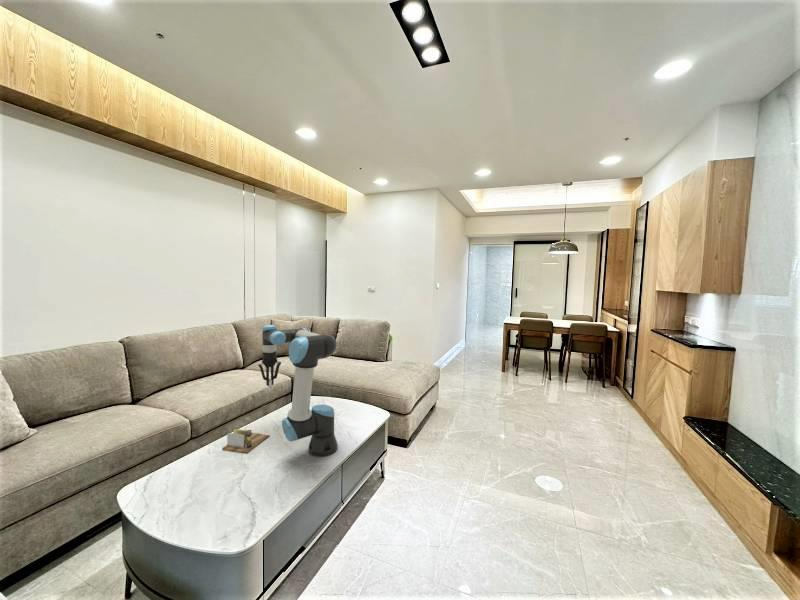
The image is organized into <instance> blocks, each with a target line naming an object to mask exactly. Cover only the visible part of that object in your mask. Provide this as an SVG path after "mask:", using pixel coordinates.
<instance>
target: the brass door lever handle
mask: <svg viewBox="0 0 800 600" xmlns="http://www.w3.org/2000/svg"><path fill="white" fill-rule="evenodd" d="M247 430H248V429H247ZM247 430H246V429H239V428H238V429H237V428H234V429H233V430H232V431H233V434H241V435H245V443H246V444H247V442H248V443H249V442H251V441H252V435H251V436H247Z"/></svg>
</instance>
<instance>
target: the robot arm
mask: <svg viewBox="0 0 800 600" xmlns="http://www.w3.org/2000/svg"><path fill="white" fill-rule="evenodd" d="M261 330H262V331H261V333H262V336H261V337H262V360H261V362H260V363H257V366H258V367H259V369H260V374H261V377H262V379H263V380H264V381H265V383H266V386H267V390H268V392H273V389H272V388H273V385H274V381H275V379H277V377H278V373H279V370H280V366H281V364H282V362H281V361H279V360H278V358H277V346H281V345H283V344H289V346H288V358H289V361H290V362H291V363H292V366H293V367H294V369H295V370H294V380H293V387H292V390H293V391H292V398H291V399H292V401H291V409H289V410H288V412H287V417H284V418H283V419H282V421H281V426H282V432H283V434H284V437H285V438H286V440H287V441H288V442H295V441H299V440H301V439H305V438H306V437H310V436H311V438H310V441H309V444H308V453H309V454H310V455H312V456H314V457H326V456H330V455H333V454H334V453H335V452H337V450H338V448H339V447H338V441H337V438H336V436H335V410H334V408H333V407H332V406H331V405H328V404H316V405H313V406H312V407H311V406H310V405H311V397H312V388H313V381H314V380H313V379H314V371H315V370H314V369H315V368H316V367H318V363H319V360H323V359H327V358H329V357H331V356H332V355H333V354H334V353H335V352H336V351H337V348H338V347H337V346H338V345H337V344H338V343H337V340H336V338H335V337H334V336H333V335H331V334H327V333H321V334H320V333H315V332H312V331H309V330H308V329H307V328H303V327H301V328H300V327H299V328H293V329H281V330H277V325H275V324H266V325H265V324H264V325H263V326H262V329H261ZM275 365H276V367H275ZM263 366H264V367H265V371H264V367H263ZM274 367H275V370H274ZM310 407H311V409H310Z"/></svg>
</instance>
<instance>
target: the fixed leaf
mask: <svg viewBox="0 0 800 600" xmlns="http://www.w3.org/2000/svg"><path fill="white" fill-rule="evenodd" d="M252 433H253V432H252V429H247V436H251V435H252ZM226 437H227V438H226V439H227V444H226V445H228V447H233V448H240V449H245V435H241V434H233V433H232V432H228V433H227V435H226ZM250 447H252V441H251V442H249V443H248V442H247V448H250Z"/></svg>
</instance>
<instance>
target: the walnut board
mask: <svg viewBox="0 0 800 600" xmlns="http://www.w3.org/2000/svg"><path fill="white" fill-rule="evenodd" d="M269 438H270V434H265V433H264V434H263V433H257V432H252V447H250V448H247V444H246V443H245V449H240V448H233V447H228V445H227V444H226V445H225V446H223V447H222V448H221V449H222V451H226V452H227V451H228V452H233V453H238V454H249V453H250V452H251V451H252V450H254V449H256V448H257V447H259V445H261V444H262V443H263V442H264V441H266V440H267V439H269Z"/></svg>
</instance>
